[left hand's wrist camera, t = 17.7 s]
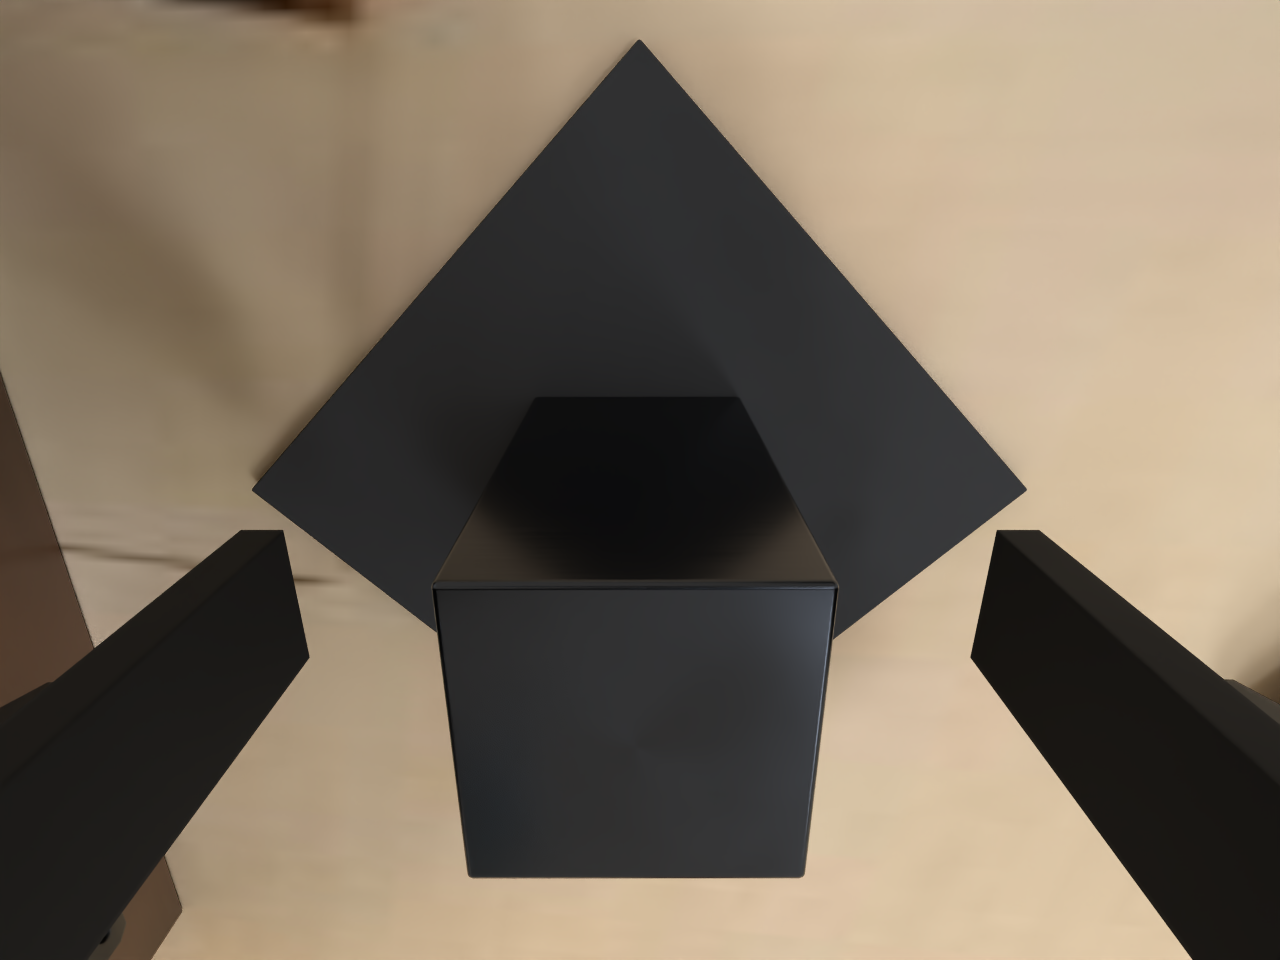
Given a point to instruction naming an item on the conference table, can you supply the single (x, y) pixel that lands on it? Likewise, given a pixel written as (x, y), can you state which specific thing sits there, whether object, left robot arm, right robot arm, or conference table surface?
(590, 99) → the rubber mat
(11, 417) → the walnut case
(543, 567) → the metal block
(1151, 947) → the conference table surface
